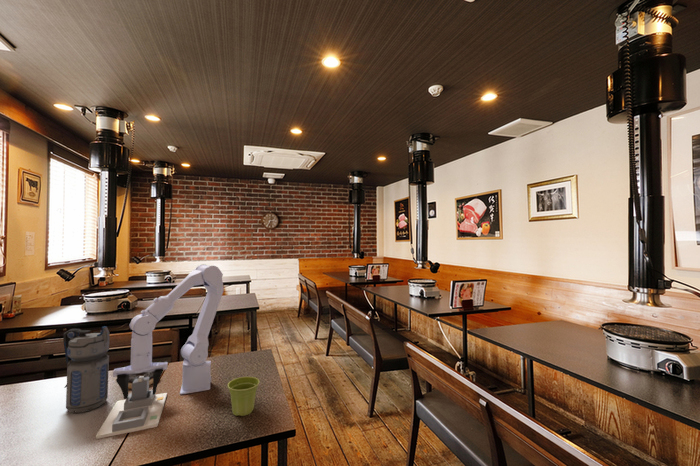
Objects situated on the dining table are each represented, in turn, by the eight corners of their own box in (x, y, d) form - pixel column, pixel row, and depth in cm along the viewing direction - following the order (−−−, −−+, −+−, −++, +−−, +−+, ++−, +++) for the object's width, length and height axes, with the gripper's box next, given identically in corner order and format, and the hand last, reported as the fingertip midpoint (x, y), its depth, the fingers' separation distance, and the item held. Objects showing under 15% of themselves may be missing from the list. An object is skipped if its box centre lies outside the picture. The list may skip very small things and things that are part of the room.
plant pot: (250, 400, 103) (250, 373, 103) (264, 411, 96) (265, 383, 96) (221, 410, 96) (222, 382, 96) (235, 423, 89) (235, 393, 90)
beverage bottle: (76, 398, 103) (78, 323, 104) (117, 397, 104) (119, 322, 105) (47, 415, 93) (51, 331, 94) (93, 414, 94) (96, 331, 95)
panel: (167, 395, 106) (167, 386, 106) (157, 426, 88) (157, 416, 88) (117, 403, 100) (117, 394, 100) (95, 439, 82) (96, 428, 82)
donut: (126, 379, 118) (126, 369, 118) (162, 374, 123) (162, 364, 123) (117, 392, 108) (117, 380, 108) (157, 386, 113) (157, 375, 113)
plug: (148, 398, 102) (149, 374, 102) (146, 403, 98) (147, 379, 99) (134, 400, 100) (134, 376, 101) (131, 406, 97) (132, 381, 97)
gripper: (110, 360, 93) (108, 405, 93) (165, 353, 99) (164, 396, 99) (117, 352, 100) (115, 395, 99) (168, 346, 106) (167, 387, 105)
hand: (140, 395), depth 100 cm, fingers open, 7 cm apart
